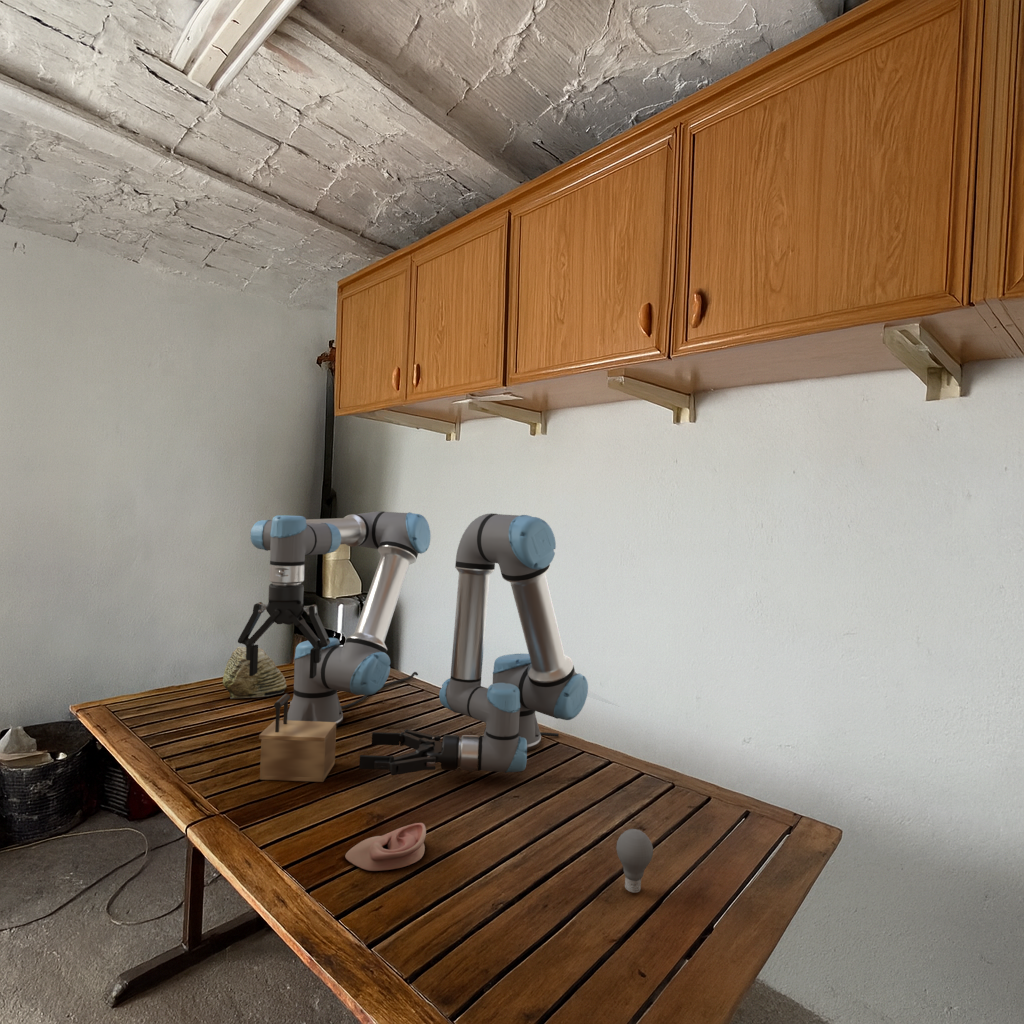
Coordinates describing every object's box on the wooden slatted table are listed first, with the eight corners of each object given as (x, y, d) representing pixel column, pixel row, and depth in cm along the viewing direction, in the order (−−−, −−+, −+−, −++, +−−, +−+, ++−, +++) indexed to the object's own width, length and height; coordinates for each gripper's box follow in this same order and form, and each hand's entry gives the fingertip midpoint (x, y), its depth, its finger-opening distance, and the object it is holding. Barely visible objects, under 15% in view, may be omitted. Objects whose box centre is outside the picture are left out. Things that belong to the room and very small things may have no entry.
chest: (259, 779, 140) (261, 739, 140) (275, 761, 150) (277, 723, 150) (323, 782, 141) (324, 741, 140) (334, 763, 150) (336, 726, 150)
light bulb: (610, 879, 108) (613, 822, 108) (644, 879, 109) (647, 822, 109) (619, 902, 102) (622, 840, 102) (655, 901, 103) (658, 840, 103)
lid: (258, 739, 140) (260, 704, 140) (274, 723, 150) (276, 690, 150) (324, 741, 140) (325, 706, 140) (336, 725, 150) (337, 693, 150)
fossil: (218, 695, 195) (220, 647, 195) (278, 685, 208) (279, 640, 207) (228, 703, 189) (230, 653, 188) (289, 692, 201) (290, 645, 201)
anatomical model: (337, 842, 109) (366, 811, 120) (336, 865, 109) (365, 832, 120) (410, 854, 106) (432, 821, 117) (409, 878, 106) (432, 842, 118)
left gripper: (224, 582, 141) (221, 677, 141) (336, 587, 141) (333, 682, 141) (238, 578, 148) (235, 668, 148) (345, 583, 148) (341, 673, 149)
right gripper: (455, 794, 133) (353, 791, 132) (461, 747, 158) (376, 744, 157) (456, 758, 133) (354, 755, 132) (462, 717, 157) (377, 714, 157)
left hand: (283, 675), depth 145 cm, fingers open, 13 cm apart
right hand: (366, 749), depth 145 cm, fingers open, 13 cm apart
